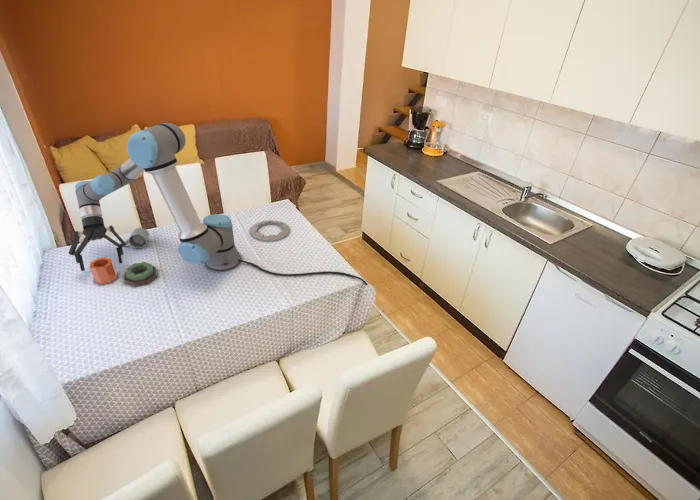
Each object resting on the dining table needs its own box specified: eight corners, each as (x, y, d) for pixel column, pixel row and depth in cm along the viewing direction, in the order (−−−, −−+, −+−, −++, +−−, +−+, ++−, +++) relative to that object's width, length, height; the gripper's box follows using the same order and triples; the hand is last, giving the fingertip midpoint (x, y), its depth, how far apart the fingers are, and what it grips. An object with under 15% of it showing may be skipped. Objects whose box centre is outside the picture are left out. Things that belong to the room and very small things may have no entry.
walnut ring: (162, 272, 166) (162, 269, 165) (141, 288, 157) (140, 285, 156) (141, 265, 169) (140, 261, 168) (119, 280, 160) (117, 277, 159)
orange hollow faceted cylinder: (121, 275, 163) (116, 260, 158) (106, 285, 157) (100, 270, 152) (106, 270, 165) (101, 255, 160) (91, 281, 158) (85, 265, 154)
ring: (292, 224, 207) (292, 221, 206) (283, 243, 191) (283, 240, 190) (258, 219, 208) (258, 216, 207) (246, 238, 192) (245, 235, 191)
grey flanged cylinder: (151, 238, 187) (147, 225, 182) (148, 247, 180) (144, 234, 176) (127, 240, 184) (122, 227, 180) (123, 250, 178) (118, 236, 173)
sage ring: (158, 269, 164) (157, 266, 163) (140, 283, 157) (139, 279, 155) (140, 263, 167) (139, 260, 166) (121, 276, 159) (120, 272, 158)
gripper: (127, 215, 167) (137, 261, 165) (59, 225, 157) (69, 275, 155) (124, 210, 160) (134, 258, 158) (53, 220, 150) (63, 272, 148)
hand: (102, 266), depth 156 cm, fingers open, 13 cm apart
